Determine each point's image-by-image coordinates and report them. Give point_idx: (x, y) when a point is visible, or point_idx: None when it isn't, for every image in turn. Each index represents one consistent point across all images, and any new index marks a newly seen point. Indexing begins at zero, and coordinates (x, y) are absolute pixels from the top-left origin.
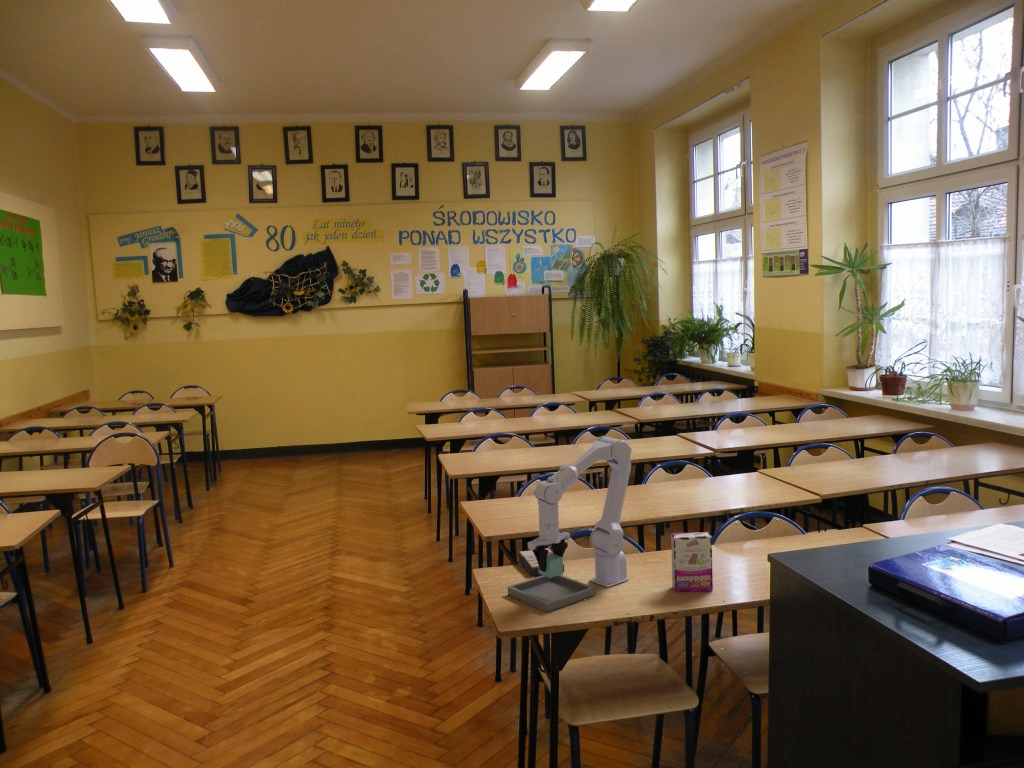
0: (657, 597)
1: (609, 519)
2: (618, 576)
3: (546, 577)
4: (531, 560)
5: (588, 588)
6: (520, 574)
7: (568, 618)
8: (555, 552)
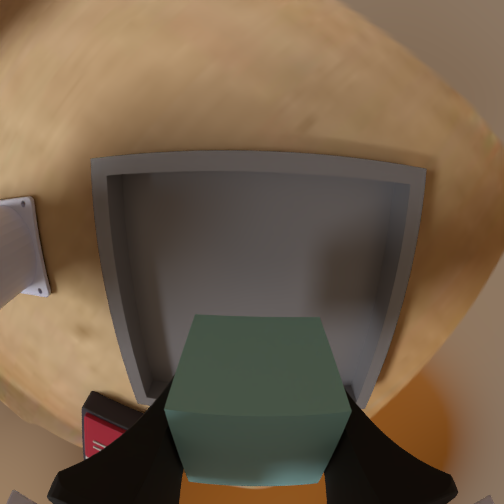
0: (5, 38)
1: None
2: None
3: None
4: None
5: (115, 172)
6: None
7: (378, 60)
8: (174, 476)
